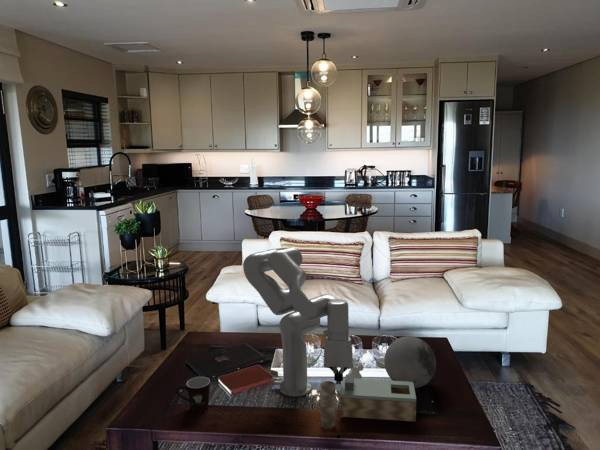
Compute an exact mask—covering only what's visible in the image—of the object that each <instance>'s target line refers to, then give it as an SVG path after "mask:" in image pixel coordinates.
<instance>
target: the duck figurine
mask: <svg viewBox="0 0 600 450" xmlns="http://www.w3.org/2000/svg"><path fill="white" fill-rule="evenodd" d="M363 370H364V365H363V363H362V362H358V361H357V360H356V361H354V362H353V368H351V369H350V370H349V372H348V373H347V375H354V379H363V376H362V374H361V373H360V372H362V371H363Z"/></svg>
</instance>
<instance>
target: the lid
mask: <svg viewBox="0 0 600 450" xmlns="http://www.w3.org/2000/svg"><path fill="white" fill-rule="evenodd" d="M391 387H394V388H409V393H410V394H394V393H391ZM415 389H416V388H415ZM415 389H414V384H413V382H407V381H393V380H386V379H385V380H384V379H365V378H362V379H354V375H348V374H345V377H343V381H341V384H340V392H339V399H340V398H356V399H373V400H390V401H407V402H416V403H417V396H416V390H415Z"/></svg>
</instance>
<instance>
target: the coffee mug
mask: <svg viewBox="0 0 600 450" xmlns="http://www.w3.org/2000/svg"><path fill="white" fill-rule="evenodd" d="M180 389H184V390H186V392H187V396H188V398H187V397H185V396H183V395H181V393H180V392H179V390H180ZM210 390H211V380H210V378H209V377H206V376H195V377H192V378H190V379H188V380H187V382H186V386H184V385H183V386H179V387H178V388H177V389H176V395H177V396H179V397H180V398H181V399H183V400H185V401H187V402H188V403H189V407H190V410H191V409H192V410H194V411H201V410H204V409H206V408H207V407H208V408H209V401H210ZM208 408H207V409H208ZM207 409H206V410H207ZM192 410H191V411H192ZM194 411H193V412H194ZM204 411H205V410H204ZM201 412H202V411H201Z"/></svg>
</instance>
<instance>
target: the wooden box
mask: <svg viewBox="0 0 600 450" xmlns="http://www.w3.org/2000/svg"><path fill="white" fill-rule="evenodd" d="M391 393H394V394H410V393H409V388H394V387H391ZM339 403H340V404H339V405H340V407H339V408H340V409H339V411H340V412H339V417H340V418H343V419H344V418H354V419H355V418H357V419H371V420H373V419H374V420H385V421H386V420H387V421H388V420H390V421H400V422H401V421H404V422H416V420H417V419H416V418H417V401H416V402H407V401H390V400H373V399H356V398H340V397H339Z"/></svg>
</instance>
